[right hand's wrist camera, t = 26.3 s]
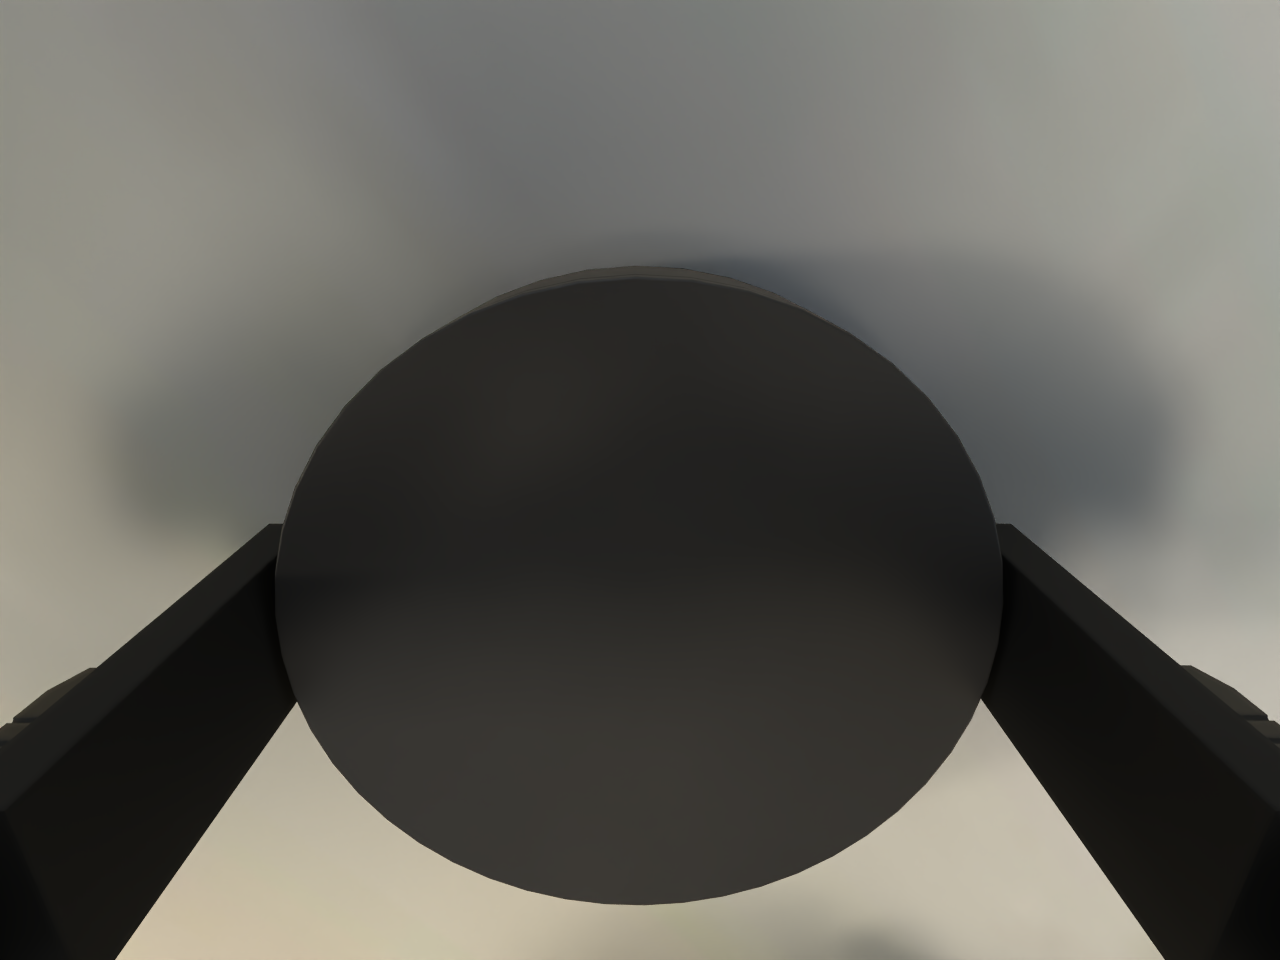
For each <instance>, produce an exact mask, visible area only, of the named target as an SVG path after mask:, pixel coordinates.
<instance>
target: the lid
mask: <svg viewBox="0 0 1280 960" xmlns="http://www.w3.org/2000/svg"><path fill="white" fill-rule="evenodd" d="M1002 612H1003V564H1002V557H1001V551H1000V546H999V540H998V535H997V529H996V524H995V519H994V516H993V513H992V510H991V507H990V504H989V502H988V499H987V496H986V493H985V490H984V487H983V485H982V482H981V479H980V476H979V474H978V473H977V471H976V469H975V467H974V465H973V463H972V462H971V460H970V458H969V456H968V454H967V452H966V450H965V449H964V447H963V445H962V443H961V441H960V439H959V438H958V436H957V435H956V433H955V432H954V431H953V429H952V428H951V427H950V425H949V424H948V423H947V421H946V420H945V419H944V418H943V416H942V415H941V414H940V412H939V411H938V410H937V408H936V407H935V406H934V405H933V403H932V402H931V401H930V399H929V398H928V397H927V396H926V395H925V394H924V393H923V392H922V391H921V390H920V389H919V388H918V387H917V386H916V385H914V384H913V383H912V382H911V381H910V380H909V379H908V378H907V377H906V376H905V375H904V374H903V373H902V372H901V371H900V370H899V369H898V368H897V367H896V366H895V365H894V364H893V363H891V362H890V361H889V360H887V359H886V358H884V357H883V356H881V355H880V354H879V353H877V352H876V351H874V350H873V349H872V348H870V347H869V346H867V345H866V344H864V343H863V342H862V341H860V340H859V339H857V338H856V337H855V336H853V335H852V334H850V333H849V332H847V331H845V330H843V329H841V328H840V327H838V326H836V325H834V324H832V323H831V322H829V321H827V320H825V319H823V318H821V317H820V316H818V315H816V314H814V313H812V312H810V311H808V310H806V309H804V308H802V307H800V306H798V305H796V304H795V303H793V302H791V301H789V300H787V299H785V298H783V297H781V296H779V295H777V294H775V293H773V292H770V291H767V290H764V289H761V288H758V287H755V286H752V285H749V284H746V283H744V282H741V281H738V280H735V279H732V278H729V277H723V276H718V275H713V274H708V273H703V272H698V271H693V270H688V269H681V268H663V267H645V266H628V267H616V268H604V269H592V270H584V271H580V272H575V273H571V274H566V275H562V276H557V277H553V278H548V279H544V280H540V281H537V282H535V283H532V284H529V285H527V286H524V287H521V288H519V289H516V290H513V291H511V292H508V293H505V294H503V295H500V296H497V297H495V298H494V299H492V300H490V301H488V302H486V303H484V304H482V305H481V306H479V307H477V308H475V309H473V310H471V311H470V312H468V313H466V314H464V315H462V316H460V317H459V318H457V319H455V320H453V321H452V322H450V323H448V324H447V325H445V326H443V327H441V328H440V329H438V330H436V331H435V332H433V333H431V334H430V335H428V336H426V337H424V338H423V339H421V340H420V341H419V342H417V343H416V344H415V345H413V346H412V347H411V348H409V349H408V350H407V351H405V352H404V353H403V354H401V355H400V356H399V357H397V358H396V359H395V360H393V361H392V362H391V363H389V364H388V365H387V366H385V367H384V368H383V369H381V370H380V371H379V372H378V373H377V374H376V375H375V376H374V377H373V378H372V379H371V380H370V381H369V382H368V383H367V384H366V385H365V386H364V387H363V388H362V389H361V390H360V391H359V392H358V393H357V394H356V395H355V396H354V397H353V398H352V399H351V400H350V401H349V402H348V403H347V404H346V405H345V407H344V408H343V409H342V411H341V412H340V413H339V415H338V416H337V418H336V419H335V420H334V422H333V423H332V424H331V426H330V427H329V429H328V430H327V431H326V433H325V434H324V436H323V437H322V438H321V440H320V441H319V442H318V444H317V445H316V447H315V449H314V451H313V453H312V455H311V457H310V459H309V461H308V463H307V465H306V467H305V469H304V471H303V473H302V475H301V477H300V479H299V481H298V483H297V484H296V486H295V489H294V493H293V496H292V499H291V502H290V505H289V508H288V511H287V514H286V517H285V520H284V524H283V527H282V530H281V537H280V543H279V550H278V556H277V563H276V569H275V617H276V624H277V630H278V637H279V643H280V649H281V655H282V659H283V662H284V665H285V668H286V671H287V675H288V678H289V681H290V684H291V687H292V691H293V694H294V696H295V698H296V700H297V702H298V704H299V706H300V708H301V710H302V713H303V715H304V717H305V719H306V721H307V723H308V725H309V727H310V729H311V731H312V733H313V734H314V736H315V737H316V739H317V740H318V742H319V743H320V745H321V746H322V748H323V749H324V751H325V752H326V754H327V755H328V757H329V758H330V760H331V761H332V763H333V764H334V765H335V767H336V768H337V769H338V770H339V771H340V772H341V774H342V775H343V776H344V777H345V778H346V779H347V781H348V782H349V783H350V784H351V785H352V786H353V788H354V789H355V790H356V791H357V792H358V793H359V794H360V795H361V796H362V797H363V798H364V799H365V800H366V801H367V802H369V803H370V804H371V805H372V806H373V807H374V808H375V809H376V810H377V811H378V812H379V813H380V814H382V815H383V816H384V817H385V818H386V819H387V820H388V821H390V822H391V823H392V824H394V825H395V826H397V827H398V828H399V829H401V830H402V831H403V832H405V833H406V834H408V835H409V836H410V837H412V838H413V839H415V840H416V841H417V842H419V843H420V844H422V845H424V846H426V847H427V848H429V849H431V850H433V851H434V852H436V853H438V854H439V855H441V856H443V857H445V858H446V859H448V860H450V861H452V862H454V863H456V864H458V865H460V866H463V867H465V868H467V869H469V870H472V871H474V872H476V873H478V874H481V875H483V876H485V877H487V878H490V879H493V880H496V881H499V882H502V883H505V884H508V885H511V886H514V887H517V888H521V889H524V890H527V891H531V892H536V893H540V894H545V895H549V896H554V897H558V898H563V899H568V900H576V901H584V902H592V903H601V904H621V905H655V904H671V903H685V902H691V901H697V900H704V899H710V898H716V897H723V896H727V895H730V894H734V893H738V892H742V891H746V890H750V889H754V888H758V887H761V886H764V885H767V884H770V883H772V882H775V881H778V880H781V879H783V878H786V877H789V876H792V875H794V874H797V873H799V872H801V871H803V870H806V869H808V868H810V867H812V866H814V865H816V864H818V863H820V862H822V861H824V860H826V859H828V858H830V857H833V856H834V855H836V854H838V853H839V852H841V851H842V850H844V849H846V848H847V847H849V846H851V845H852V844H854V843H855V842H857V841H859V840H860V839H862V838H864V837H865V836H867V835H868V834H869V833H871V832H872V831H873V830H875V829H876V828H877V827H878V826H880V825H881V824H882V823H884V822H885V821H886V820H887V819H889V818H890V817H891V816H893V815H894V814H895V813H896V812H898V811H899V810H900V809H901V808H902V807H903V806H904V805H905V804H906V803H907V802H908V801H909V800H910V799H911V798H912V797H913V796H914V795H915V794H916V793H917V792H918V791H919V790H920V789H921V788H922V787H923V786H924V785H925V784H926V783H927V782H928V781H929V779H930V778H931V777H932V776H933V775H934V773H935V772H936V771H937V770H938V768H939V767H940V766H941V765H942V763H943V762H944V761H945V760H946V758H947V757H948V756H949V755H950V753H951V752H952V750H953V749H954V747H955V745H956V744H957V742H958V740H959V739H960V737H961V735H962V734H963V732H964V731H965V729H966V727H967V726H968V724H969V722H970V721H971V719H972V717H973V714H974V712H975V710H976V708H977V705H978V703H979V701H980V699H981V696H982V694H983V692H984V690H985V687H986V685H987V683H988V679H989V676H990V672H991V668H992V665H993V661H994V658H995V654H996V651H997V647H998V643H999V635H1000V627H1001V619H1002Z"/></svg>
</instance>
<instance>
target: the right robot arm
mask: <svg viewBox="0 0 1280 960" xmlns="http://www.w3.org/2000/svg"><path fill="white" fill-rule="evenodd" d="M282 527H283V524H269V525H267V526H266V527H265V528H264V529H263V530H261V531H260V532H259V533H258V534H257V535H255V536H254V537H253V538H252V539H251V540H249V541H248V542H247V543H246V544H245V545H243V546H242V547H241V548H240V549H239V550H237V551H236V552H235V553H234V554H233V555H231V556H230V557H229V558H228V559H227V560H225V561H224V562H223V563H222V564H221V565H219V566H218V567H217V568H216V569H215V570H213V571H212V572H211V573H210V574H209V575H207V576H206V577H205V578H204V579H203V580H201V581H200V582H199V583H198V584H197V585H195V586H194V587H193V588H192V589H191V590H189V591H188V592H187V593H186V594H185V595H183V596H182V597H181V598H180V599H179V600H177V601H176V602H175V603H174V604H173V605H171V606H170V607H169V608H168V609H167V610H165V611H164V612H163V613H162V614H161V615H160V616H158V617H157V618H156V619H155V620H154V621H152V622H151V623H150V624H149V625H148V626H146V627H145V628H144V629H143V630H142V631H140V632H139V633H138V634H137V635H136V636H134V637H133V638H132V639H131V640H130V641H128V642H127V643H126V644H125V645H124V646H122V647H121V648H120V649H119V650H118V651H116V652H115V653H114V654H113V655H112V656H110V657H109V658H108V659H107V660H106V661H104V662H103V663H102V664H101V665H100V666H98V667H97V668H89V669H87V670H85V671H83V672H81V673H79V674H77V675H76V676H74V677H72V678H70V679H68V680H66V681H64V682H63V683H61V684H59V685H57V686H55V687H53V688H51V689H49V690H48V691H46V692H45V693H44V694H42V695H41V696H40V697H39V698H37V699H36V700H35V701H34V702H32V703H31V704H30V705H29V706H28V707H26V708H25V709H24V710H23V711H21V712H20V713H19V714H18V715H16V716H15V717H14V718H13V719H14V720H13V722H12V723H6V724H5V725H4V726H3V727H1V728H0V960H115V959H116V958H117V956H118V955H119V953H120V952H121V951H122V949H123V948H124V946H125V945H126V943H127V942H128V941H129V939H130V938H131V936H132V935H133V934H134V932H135V931H136V929H137V928H138V926H139V925H140V924H141V922H142V921H143V919H144V918H145V916H146V915H147V914H148V912H149V911H150V909H151V908H152V907H153V905H154V904H155V902H156V901H157V899H158V898H159V897H160V895H161V894H162V892H163V891H164V890H165V888H166V887H167V885H168V884H169V882H170V881H171V880H172V878H173V877H174V875H175V874H176V872H177V871H178V870H179V868H180V867H181V865H182V864H183V863H184V861H185V860H186V858H187V857H188V855H189V854H190V853H191V851H192V850H193V848H194V847H195V846H196V844H197V843H198V841H199V840H200V838H201V837H202V836H203V834H204V833H205V831H206V830H207V828H208V827H209V826H210V824H211V823H212V821H213V820H214V819H215V817H216V816H217V814H218V813H219V811H220V810H221V809H222V807H223V806H224V804H225V803H226V801H227V800H228V799H229V797H230V796H231V794H232V793H233V792H234V790H235V789H236V787H237V786H238V784H239V783H240V782H241V780H242V779H243V777H244V776H245V775H246V773H247V772H248V770H249V769H250V767H251V766H252V765H253V763H254V762H255V760H256V759H257V757H258V756H259V755H260V753H261V752H262V750H263V749H264V748H265V746H266V745H267V743H268V742H269V740H270V739H271V738H272V736H273V735H274V733H275V732H276V731H277V729H278V728H279V726H280V725H281V723H282V722H283V721H284V719H285V718H286V716H287V715H288V713H289V712H290V711H291V709H292V708H293V706H294V705H295V704H296V702H297V700H296V698H295V696H294V694H293V691H292V687H291V684H290V681H289V678H288V675H287V671H286V668H285V665H284V662H283V659H282V655H281V649H280V643H279V637H278V630H277V624H276V617H275V569H276V563H277V556H278V550H279V543H280V537H281V530H282ZM996 529H997V535H998V540H999V546H1000V551H1001V557H1002V564H1003V612H1002V619H1001V627H1000V635H999V643H998V647H997V651H996V654H995V658H994V661H993V665H992V668H991V672H990V676H989V679H988V683H987V685H986V687H985V690H984V692H983V694H982V696H981V699H982V701H983V702H984V704H985V705H986V706H987V708H988V709H989V711H990V712H991V714H992V715H993V716H994V718H995V719H996V721H997V722H998V723H999V725H1000V726H1001V728H1002V729H1003V731H1004V732H1005V733H1006V735H1007V736H1008V738H1009V739H1010V740H1011V742H1012V743H1013V745H1014V746H1015V748H1016V749H1017V750H1018V752H1019V753H1020V755H1021V756H1022V758H1023V759H1024V760H1025V762H1026V763H1027V765H1028V766H1029V767H1030V769H1031V770H1032V772H1033V773H1034V775H1035V776H1036V777H1037V779H1038V780H1039V782H1040V783H1041V784H1042V786H1043V787H1044V789H1045V790H1046V792H1047V793H1048V794H1049V796H1050V797H1051V799H1052V800H1053V802H1054V803H1055V804H1056V806H1057V807H1058V809H1059V810H1060V811H1061V813H1062V814H1063V816H1064V817H1065V819H1066V820H1067V821H1068V823H1069V824H1070V826H1071V827H1072V829H1073V830H1074V831H1075V833H1076V834H1077V836H1078V837H1079V838H1080V840H1081V841H1082V843H1083V844H1084V846H1085V847H1086V848H1087V850H1088V851H1089V853H1090V854H1091V855H1092V857H1093V858H1094V860H1095V861H1096V863H1097V864H1098V865H1099V867H1100V868H1101V870H1102V871H1103V873H1104V874H1105V875H1106V877H1107V878H1108V880H1109V881H1110V882H1111V884H1112V885H1113V887H1114V888H1115V890H1116V891H1117V892H1118V894H1119V895H1120V897H1121V898H1122V900H1123V901H1124V902H1125V904H1126V905H1127V907H1128V908H1129V909H1130V911H1131V912H1132V914H1133V915H1134V917H1135V918H1136V919H1137V921H1138V922H1139V924H1140V925H1141V926H1142V928H1143V929H1144V931H1145V932H1146V934H1147V935H1148V936H1149V938H1150V939H1151V941H1152V942H1153V944H1154V945H1155V946H1156V948H1157V949H1158V951H1159V952H1160V953H1161V955H1162V956H1163V958H1164V959H1165V960H1280V725H1279V724H1278V723H1277V722H1275V721H1269V720H1268V715H1267V714H1265V713H1264V712H1263V711H1262V710H1260V709H1259V708H1258V707H1257V706H1255V705H1254V704H1253V703H1252V702H1250V701H1249V700H1248V699H1247V698H1245V697H1244V696H1243V695H1242V694H1240V693H1239V692H1238V691H1237V690H1235V689H1234V688H1232V687H1230V686H1229V685H1227V684H1225V683H1223V682H1221V681H1219V680H1217V679H1215V678H1214V677H1212V676H1210V675H1208V674H1206V673H1204V672H1202V671H1200V670H1198V669H1197V668H1195V667H1193V666H1191V665H1179V664H1178V663H1177V662H1176V661H1174V660H1173V659H1172V658H1171V657H1170V656H1168V655H1167V654H1166V653H1165V652H1164V651H1162V650H1161V649H1160V648H1159V647H1158V646H1156V645H1155V644H1154V643H1153V642H1152V641H1150V640H1149V639H1148V638H1147V637H1146V636H1144V635H1143V634H1142V633H1141V632H1140V631H1138V630H1137V629H1136V628H1135V627H1134V626H1132V625H1131V624H1130V623H1129V622H1128V621H1126V620H1125V619H1124V618H1123V617H1122V616H1120V615H1119V614H1118V613H1117V612H1116V611H1114V610H1113V609H1112V608H1111V607H1110V606H1108V605H1107V604H1106V603H1105V602H1104V601H1102V600H1101V599H1100V598H1099V597H1098V596H1097V595H1095V594H1094V593H1093V592H1092V591H1091V590H1089V589H1088V588H1087V587H1086V586H1085V585H1083V584H1082V583H1081V582H1080V581H1079V580H1077V579H1076V578H1075V577H1074V576H1073V575H1071V574H1070V573H1069V572H1068V571H1067V570H1065V569H1064V568H1063V567H1062V566H1061V565H1059V564H1058V563H1057V562H1056V561H1055V560H1053V559H1052V558H1051V557H1050V556H1049V555H1047V554H1046V553H1045V552H1044V551H1043V550H1041V549H1040V548H1039V547H1038V546H1037V545H1035V544H1034V543H1033V542H1032V541H1031V540H1029V539H1028V538H1027V537H1026V536H1025V535H1023V534H1022V533H1021V532H1020V531H1019V530H1017V529H1016V528H1015V527H1014V526H1013V525H1011V524H996Z"/></svg>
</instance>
